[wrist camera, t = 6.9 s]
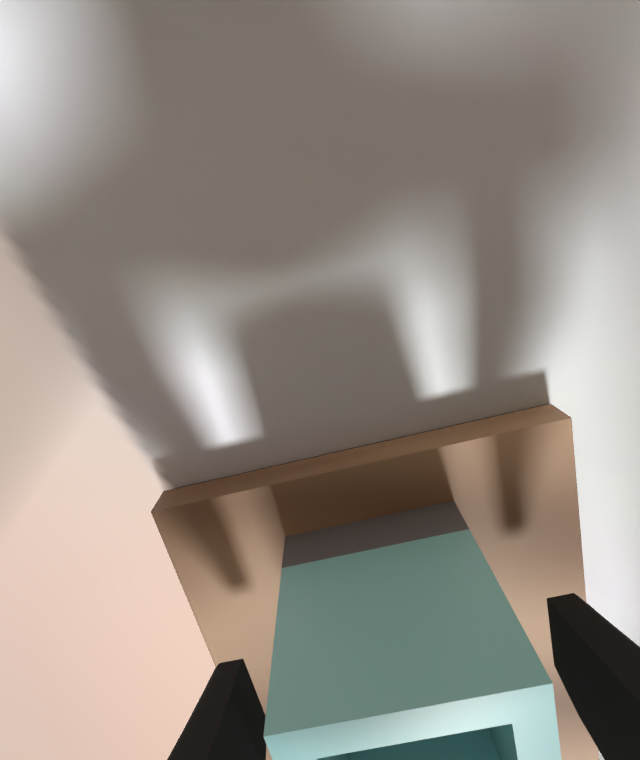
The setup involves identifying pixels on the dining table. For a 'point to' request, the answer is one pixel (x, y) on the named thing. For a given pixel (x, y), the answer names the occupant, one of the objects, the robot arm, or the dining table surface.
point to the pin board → (378, 498)
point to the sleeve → (402, 649)
